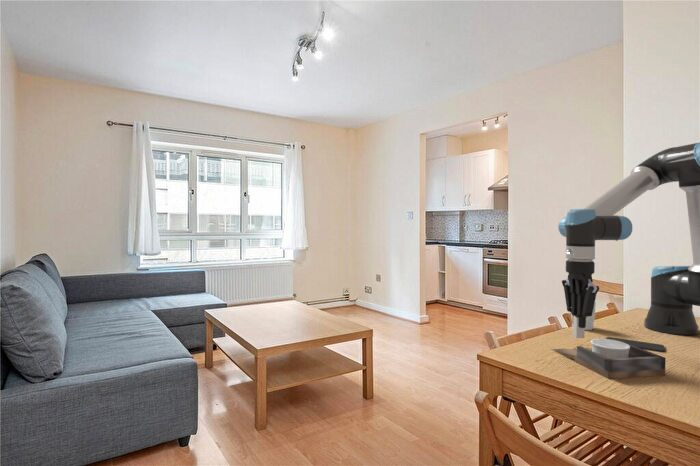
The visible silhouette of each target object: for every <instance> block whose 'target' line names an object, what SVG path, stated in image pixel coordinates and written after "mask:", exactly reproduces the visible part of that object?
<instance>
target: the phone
mask: <svg viewBox="0 0 700 466" xmlns="http://www.w3.org/2000/svg"><path fill="white" fill-rule="evenodd" d="M605 339H611V340H617V341H621V342H624V343H626V344H630V345H633V346H636V347H638V348H641V349H644V350H646V351H649V352H657V353H665V351H666V350H665V345H663V344H659V343H652V342H646V341H638V340H631V339H624V338H617V337H610V336H608V337H605Z"/></svg>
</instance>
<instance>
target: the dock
mask: <svg viewBox="0 0 700 466" xmlns="http://www.w3.org/2000/svg"><path fill="white" fill-rule="evenodd" d="M628 345H629V346H630V350H629V354H628V358H612V359H609V358H606V357H604V356H602V355H600V354H597V353H595V352H593V351H592V348H589V347H584V346H581V345H579V346H578V345H577V346H576V348H577V349H567V348H551V349H550V350H551V351H553V352H555V353H557V354H560V355H561V356H563V357H564V358H567V359H568V358H569V359H571V360H573V361H574V362H575V363H577V364H579V365H581V366H582V367H584V368H586V369H589V370H590V371H592V372H595V373H597V374H599V375H600V376H602V377H604V378H606V379H620V378H621V379H622V378H623V379H624V378H639V377H658V376H661V377H662V376H666V359H667V358H666V357H665V356H663V355H659V354H657V353H654V352H653V351H650V350H644V349H641V348H638V347H636V346H633V345H630V344H628Z"/></svg>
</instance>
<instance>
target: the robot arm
mask: <svg viewBox="0 0 700 466" xmlns="http://www.w3.org/2000/svg"><path fill="white" fill-rule="evenodd" d="M676 182H678V188H679V189H681V190H683V191H684V192H685V196H686V197H685V198H686V206H687V216H688V223H689V226H688V227H689V234H690V244H691V253H692V261H693V263H692V264H691V265H674V266H673V265H672V266H671V265H669V266H668V265H664V266H663V265H662V266H654V267H653V268H652V270H651V276H650V307H649V309H648V311H647V315H646V317H645V318H644V323H643V324H644V327H645V328H647V329H648V330H649V329H650V330H653V331H656V332H660V333H666V334H671V335H672V334H673V335H683V336H693V335H698V334H699V325H698V324H697V321H696V317H695V313H694V312H693V309H694V308H693V306H696V307H700V142H694V143H690V144H685V145H679V146H674V147H669V148H666V149H663V150H661V151H659V152H657V153H655V154H653V155H651V156H650V157H648V158H646V159H645V160H643V161H642V162H641V163H639V164H638V165H636V166H635V167H633V168H632V169H631V171H630V174H629V175H628V176H626V177H625V178H624V179H622V180H621V181H620V182H619V183H617V184H615V185H614V186H613V187H612V188H610V189H608V190H607V191H606V192H604V193H603V194H601V196H599V197H598V198H596V199H595V200H593V201H592V202H590V203H589V204H588V205H587V206H586V207H584V208H577V209H576V208H574V209H569V210H568V211H567V213H566V216H563V217H562V218H561V219H560V220H559V222H558V227H557V228H558V231H559V233H560V235H561V236H562V237H564V238H565V243H566V244H565V246H566V248H565V250H566V251H565V258H566V259H567V260H566V261H565V273H568V275H567V279H563V280H561V284H562V286H563V291H564V298H565V306H566V310H567V312H568V313H570V314H572V318H571V325H572V324H573V327H572V338H574V339H585V334H586V332H585V331H586V330H585V327H586V317H588V316H592V312H593V308H594V303H595V302H596V298H597V293H598V292H599V290H600V286H599V285H595V284H594V283H593V282H594V281H593V278H592V275H594V273H595V269H596V268H595V266H596V265H595V264H596V263H595V262H594V260H596V241H623V240H626V239H629V237H630V236H631V235H632V233H633V223H632V221H631V220H630V218H629V217H627V216H624V215H618V213H619V212H620V211H622V210H623V209H624V208H626V207H627V206H628V205H629V204H630V203H633V202H634V201H635V200H636V199H637V198H639V197H640V196H642V195H643V194H644V193H646V192H647V191H653V190H655V189H657V188H658V187H659V186H661V185H664V184H668V183H669V184H670V183H676ZM616 214H617V215H616Z"/></svg>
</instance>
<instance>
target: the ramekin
mask: <svg viewBox="0 0 700 466" xmlns="http://www.w3.org/2000/svg"><path fill="white" fill-rule="evenodd" d="M590 344H591V347H592V351H593V352H595V353H597V354H600V355H602V356H604V357H606V358H609V359H612V358H628V354H629V350H630V346H629V345H628V344H626V343H624V342H621V341H617V340H611V339H606V338H594V339H591V340H590Z"/></svg>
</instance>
